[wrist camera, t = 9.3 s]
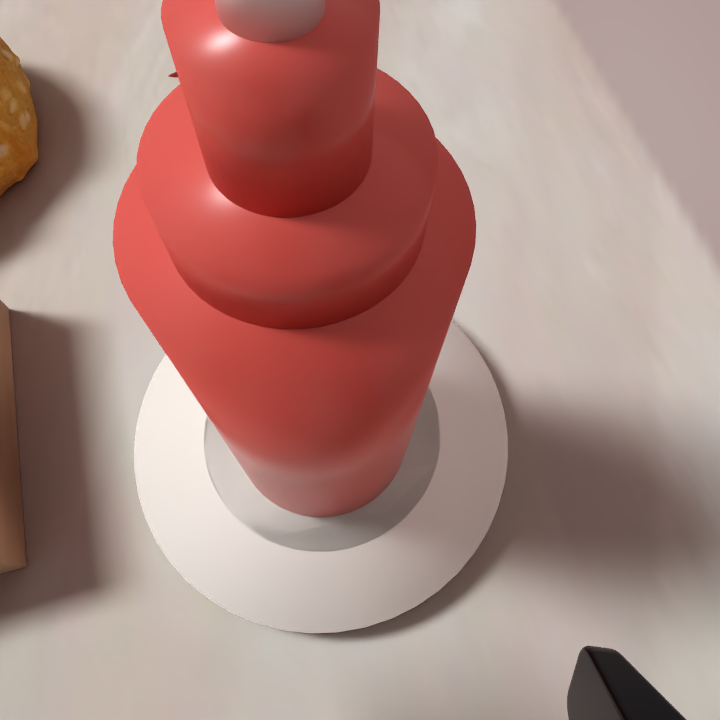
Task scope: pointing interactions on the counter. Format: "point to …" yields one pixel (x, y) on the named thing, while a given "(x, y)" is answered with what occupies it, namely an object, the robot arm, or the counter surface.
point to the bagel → (15, 121)
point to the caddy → (9, 460)
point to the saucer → (325, 534)
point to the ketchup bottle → (295, 242)
